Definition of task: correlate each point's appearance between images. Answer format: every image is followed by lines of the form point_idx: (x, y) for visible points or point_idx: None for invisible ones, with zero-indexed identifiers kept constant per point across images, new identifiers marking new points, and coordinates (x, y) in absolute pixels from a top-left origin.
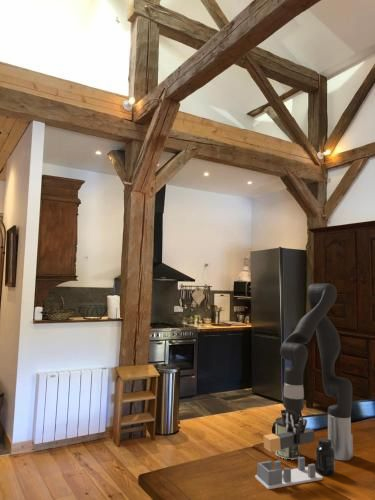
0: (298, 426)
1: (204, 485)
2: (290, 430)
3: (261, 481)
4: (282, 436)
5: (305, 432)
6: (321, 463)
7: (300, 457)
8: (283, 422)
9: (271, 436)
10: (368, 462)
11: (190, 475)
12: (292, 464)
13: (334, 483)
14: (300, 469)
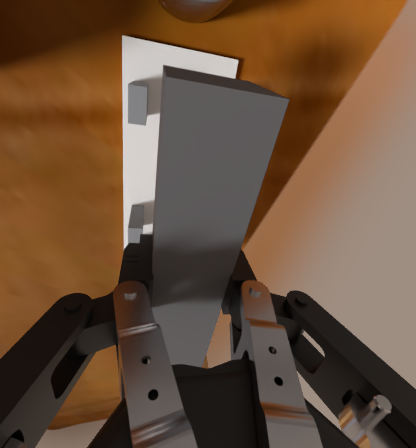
0: (318, 390)
1: None
2: (151, 299)
3: None
4: (192, 353)
5: (247, 212)
6: (214, 12)
7: (131, 107)
8: (58, 369)
9: None
10: None
11: None
12: (56, 77)
13: (283, 39)
14: (147, 112)
